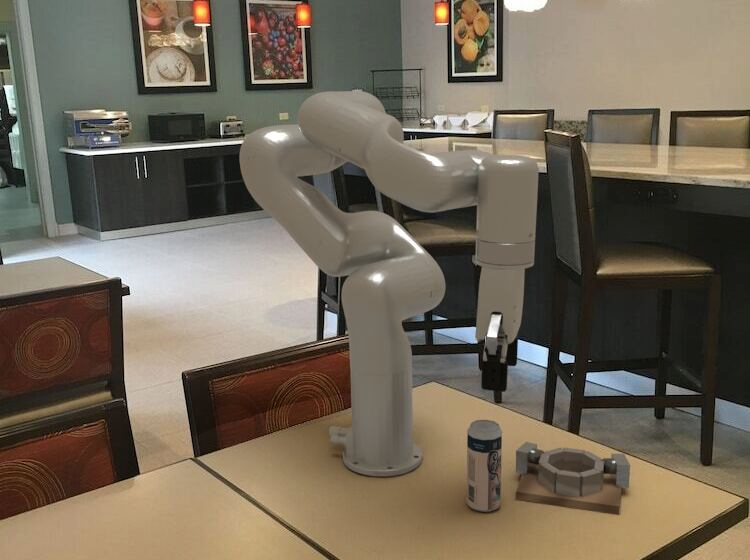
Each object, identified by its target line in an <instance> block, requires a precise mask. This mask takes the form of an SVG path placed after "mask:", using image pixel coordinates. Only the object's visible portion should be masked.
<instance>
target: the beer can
mask: <svg viewBox="0 0 750 560" xmlns="http://www.w3.org/2000/svg"><path fill="white" fill-rule="evenodd" d="M466 435H467V437H466V438H467V439H466V441H467V443H466V444H467V446H466V447H467V448H466V449H467V450H466V454H467V455H466V457H467V458H466V465H467V466H466V505H467V506H469V507H470V508H471V509H473V510H475V511H478V512H482V513H488V512H490V513H491V512H493V511H495V510H496V509H498V508H500V506H501V505H502V502H501V495H502V493H501V491H502V489H501V488H502V487H501V486H502V450H503V449H502V444H503V441H502V440H503V430H502V428H501V427H500V424H499V423H498V422H496V421H494V420H489V419H477V420H474V421H472V422H471V423H470V425H469V427H468V428H467V430H466Z"/></svg>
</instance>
